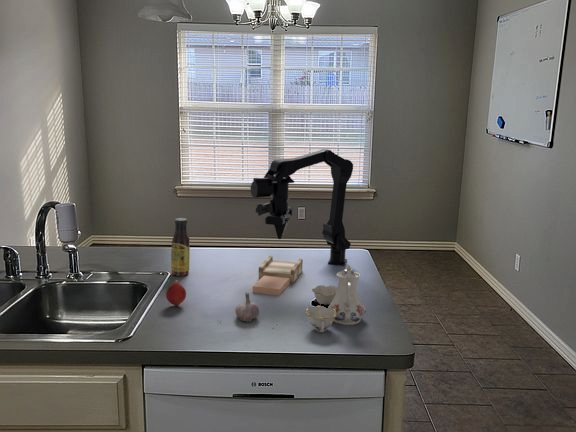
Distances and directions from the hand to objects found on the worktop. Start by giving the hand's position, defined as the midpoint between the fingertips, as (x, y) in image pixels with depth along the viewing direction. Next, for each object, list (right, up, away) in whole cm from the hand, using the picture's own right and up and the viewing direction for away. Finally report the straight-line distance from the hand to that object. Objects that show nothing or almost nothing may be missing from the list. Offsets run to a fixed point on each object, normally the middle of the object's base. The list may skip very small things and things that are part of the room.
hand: (279, 238), depth 199 cm
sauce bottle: (-35, -12, -3) cm, 37 cm away
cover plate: (-2, -16, -15) cm, 22 cm away
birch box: (+1, -13, -2) cm, 13 cm away
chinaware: (+17, -22, -39) cm, 47 cm away
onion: (-30, -19, -32) cm, 48 cm away
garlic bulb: (-9, -21, -40) cm, 46 cm away
